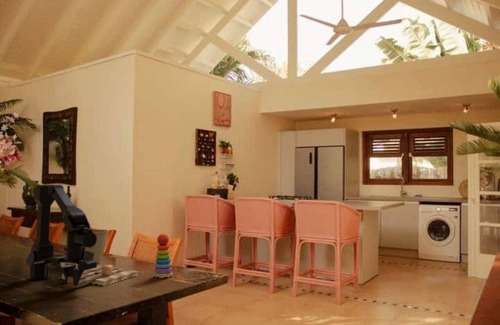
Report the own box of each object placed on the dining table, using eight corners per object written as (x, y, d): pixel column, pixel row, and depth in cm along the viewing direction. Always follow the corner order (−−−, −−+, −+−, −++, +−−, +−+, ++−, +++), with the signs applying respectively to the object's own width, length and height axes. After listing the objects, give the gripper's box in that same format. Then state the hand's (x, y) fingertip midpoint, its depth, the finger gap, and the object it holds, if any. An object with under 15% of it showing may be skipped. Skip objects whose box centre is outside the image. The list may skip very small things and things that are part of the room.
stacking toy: (164, 273, 192) (165, 232, 193) (175, 276, 187) (177, 233, 188) (150, 276, 186) (151, 233, 187) (161, 279, 181) (162, 235, 182)
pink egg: (106, 275, 176) (107, 267, 176) (99, 274, 178) (99, 266, 178) (114, 273, 180) (114, 265, 180) (106, 272, 182) (107, 264, 182)
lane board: (101, 286, 167) (101, 280, 167) (58, 279, 178) (58, 273, 178) (137, 275, 187) (137, 270, 187) (97, 269, 197) (97, 264, 197)
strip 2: (72, 287, 161) (73, 277, 161) (67, 286, 162) (67, 276, 162) (114, 275, 181) (114, 267, 181) (109, 275, 182) (109, 266, 182)
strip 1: (69, 279, 173) (69, 270, 173) (64, 278, 174) (64, 269, 174) (108, 269, 193) (109, 261, 193) (104, 268, 194) (104, 260, 194)
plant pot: (113, 260, 217) (114, 229, 218) (96, 266, 203) (96, 233, 204) (88, 259, 221) (88, 228, 222) (69, 264, 207) (70, 232, 208)
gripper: (108, 243, 167) (106, 283, 166) (74, 240, 175) (72, 278, 174) (85, 248, 157) (84, 290, 156) (51, 243, 165) (49, 284, 164)
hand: (73, 285), depth 163 cm, fingers closed on strip 2, 3 cm apart
